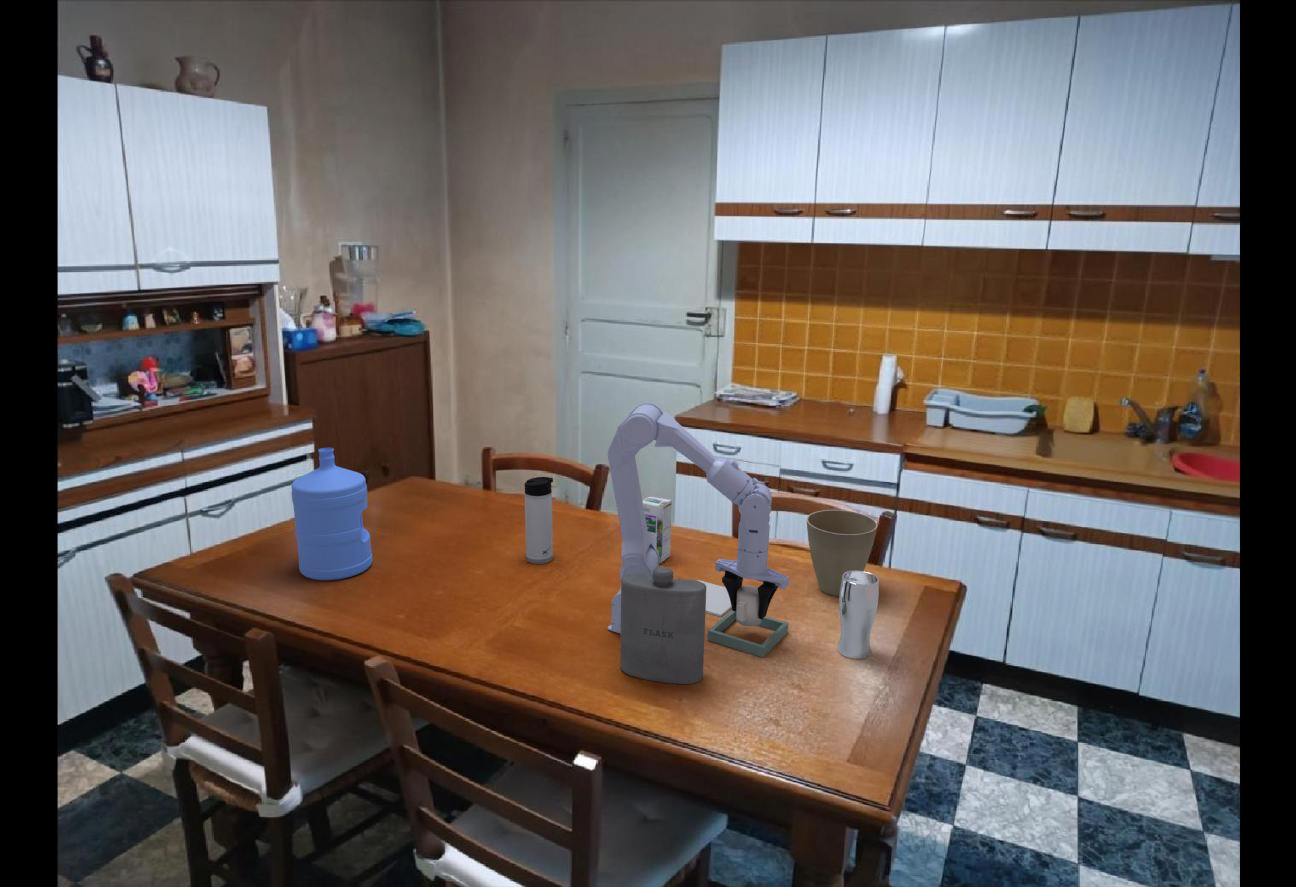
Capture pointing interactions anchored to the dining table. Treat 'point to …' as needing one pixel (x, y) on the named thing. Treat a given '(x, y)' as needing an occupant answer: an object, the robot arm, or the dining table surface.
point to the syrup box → (659, 524)
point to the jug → (747, 606)
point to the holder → (745, 645)
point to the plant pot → (839, 545)
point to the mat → (716, 599)
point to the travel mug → (538, 520)
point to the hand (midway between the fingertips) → (749, 613)
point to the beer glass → (857, 612)
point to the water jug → (331, 521)
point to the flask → (662, 627)
